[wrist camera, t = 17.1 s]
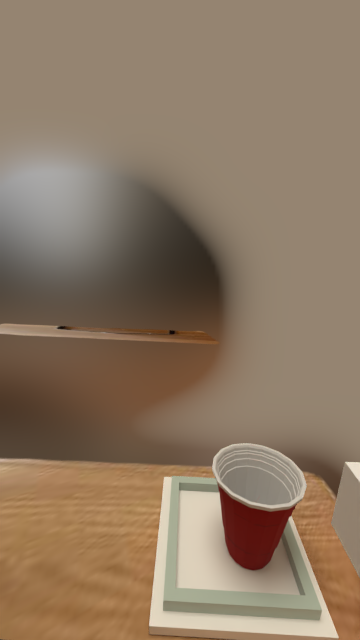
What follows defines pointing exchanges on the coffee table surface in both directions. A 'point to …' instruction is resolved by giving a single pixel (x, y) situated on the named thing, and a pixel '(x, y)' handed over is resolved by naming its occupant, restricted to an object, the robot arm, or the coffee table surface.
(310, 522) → the coffee table surface
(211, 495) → the base plate
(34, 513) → the coffee table surface
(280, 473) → the plastic cup
